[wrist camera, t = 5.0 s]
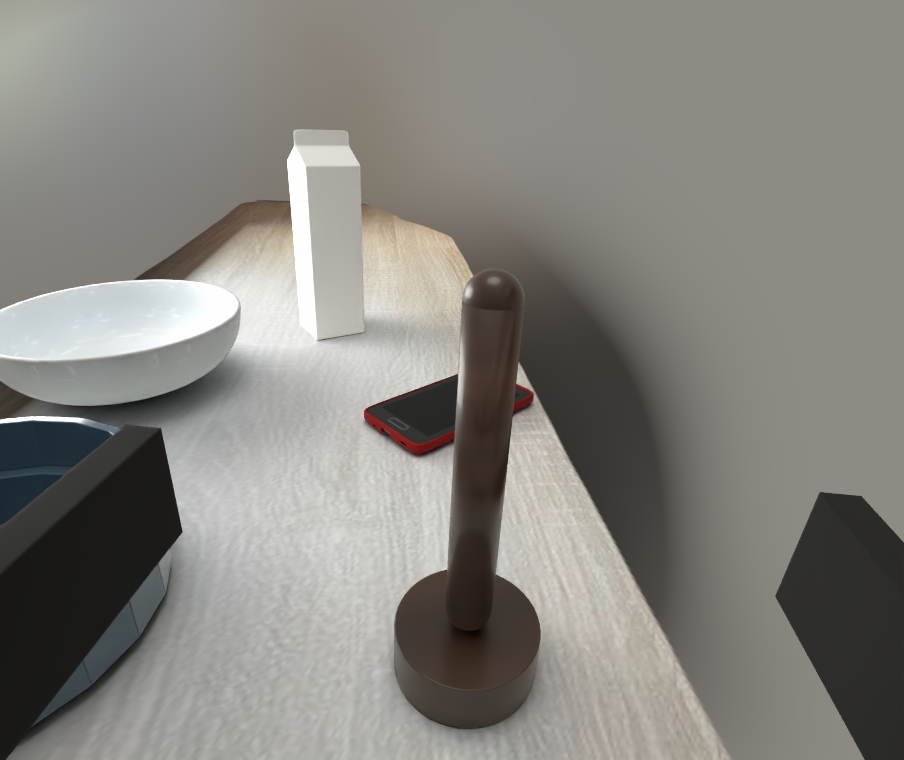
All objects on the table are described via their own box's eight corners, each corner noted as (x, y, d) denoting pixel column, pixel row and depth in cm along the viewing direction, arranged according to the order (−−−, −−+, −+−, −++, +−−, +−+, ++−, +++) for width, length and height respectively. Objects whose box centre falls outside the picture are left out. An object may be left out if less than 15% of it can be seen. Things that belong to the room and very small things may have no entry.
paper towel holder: (559, 705, 26) (643, 295, 17) (413, 748, 24) (424, 308, 15) (502, 591, 32) (542, 244, 23) (381, 618, 30) (375, 248, 21)
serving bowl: (83, 335, 62) (67, 275, 59) (272, 341, 63) (266, 282, 60) (-71, 433, 43) (-106, 353, 40) (201, 441, 44) (186, 362, 41)
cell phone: (359, 419, 48) (359, 409, 48) (478, 374, 57) (479, 365, 57) (417, 458, 43) (417, 448, 43) (537, 402, 52) (538, 393, 52)
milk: (300, 324, 68) (282, 127, 58) (346, 317, 71) (337, 128, 61) (317, 341, 64) (302, 130, 54) (366, 332, 67) (359, 131, 57)
